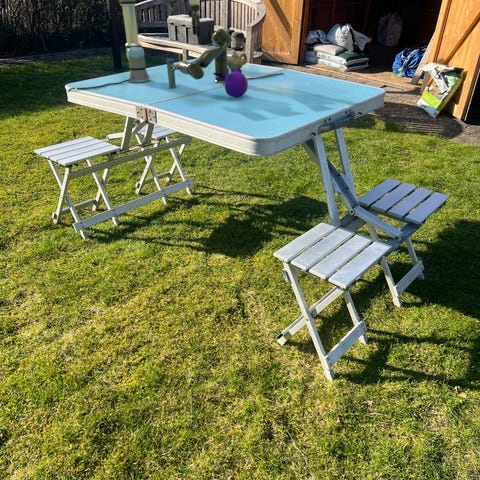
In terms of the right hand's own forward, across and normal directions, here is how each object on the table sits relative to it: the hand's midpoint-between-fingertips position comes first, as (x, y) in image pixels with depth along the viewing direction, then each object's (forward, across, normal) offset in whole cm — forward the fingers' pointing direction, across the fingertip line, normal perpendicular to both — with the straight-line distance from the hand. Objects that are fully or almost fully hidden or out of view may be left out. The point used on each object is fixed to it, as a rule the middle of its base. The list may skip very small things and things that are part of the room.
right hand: (178, 65), depth 292 cm
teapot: (+58, +66, -18) cm, 89 cm away
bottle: (+21, 0, -16) cm, 27 cm away
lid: (+20, 0, +2) cm, 20 cm away
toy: (-22, +26, -20) cm, 40 cm away
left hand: (+62, +37, +12) cm, 73 cm away
